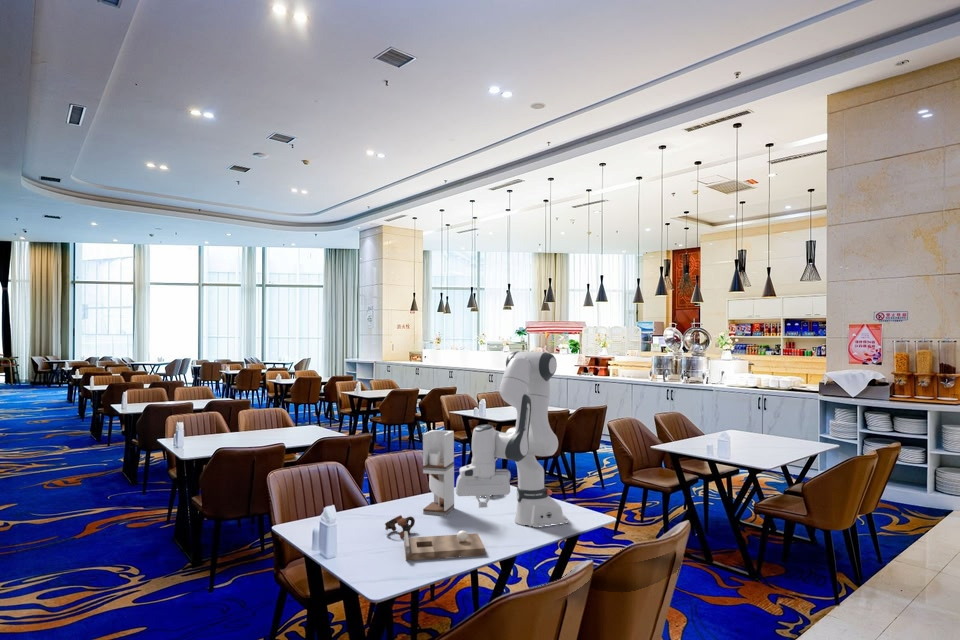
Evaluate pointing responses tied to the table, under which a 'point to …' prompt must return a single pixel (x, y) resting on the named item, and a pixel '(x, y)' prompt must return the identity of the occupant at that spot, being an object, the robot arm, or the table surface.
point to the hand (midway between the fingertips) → (482, 507)
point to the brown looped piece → (400, 524)
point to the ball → (462, 536)
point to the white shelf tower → (439, 470)
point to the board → (442, 547)
